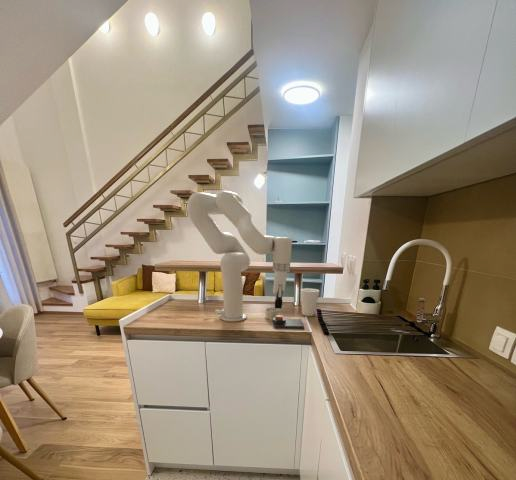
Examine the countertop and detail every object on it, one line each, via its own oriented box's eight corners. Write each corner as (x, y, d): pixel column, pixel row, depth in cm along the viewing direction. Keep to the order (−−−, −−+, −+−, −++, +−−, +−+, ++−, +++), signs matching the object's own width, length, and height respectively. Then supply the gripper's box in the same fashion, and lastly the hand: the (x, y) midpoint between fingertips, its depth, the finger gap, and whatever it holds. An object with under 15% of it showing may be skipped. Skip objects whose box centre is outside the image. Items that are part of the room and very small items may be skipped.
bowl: (265, 320, 139) (265, 311, 137) (265, 316, 145) (265, 307, 143) (278, 320, 138) (279, 311, 137) (278, 316, 145) (278, 307, 143)
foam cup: (316, 312, 153) (318, 288, 148) (317, 317, 145) (320, 292, 140) (298, 311, 154) (300, 288, 149) (299, 316, 145) (301, 291, 140)
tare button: (275, 320, 129) (276, 316, 129) (275, 318, 132) (275, 314, 132) (282, 320, 129) (282, 317, 129) (282, 318, 132) (282, 315, 132)
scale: (272, 328, 127) (273, 322, 126) (272, 321, 137) (272, 315, 136) (303, 329, 127) (304, 322, 126) (300, 321, 137) (301, 315, 136)
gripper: (272, 264, 129) (269, 303, 136) (273, 269, 115) (270, 312, 122) (288, 265, 129) (285, 304, 136) (291, 270, 115) (287, 313, 122)
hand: (278, 307), depth 129 cm, fingers closed
